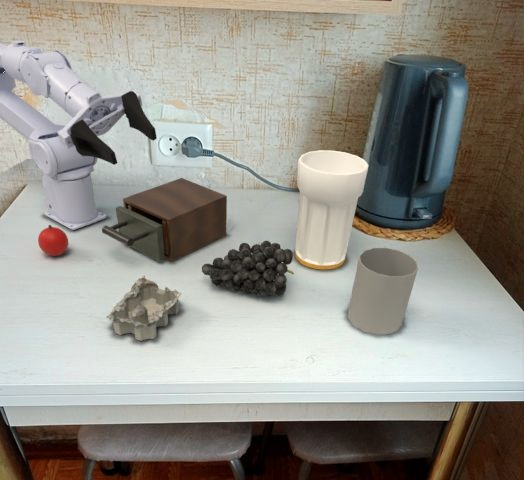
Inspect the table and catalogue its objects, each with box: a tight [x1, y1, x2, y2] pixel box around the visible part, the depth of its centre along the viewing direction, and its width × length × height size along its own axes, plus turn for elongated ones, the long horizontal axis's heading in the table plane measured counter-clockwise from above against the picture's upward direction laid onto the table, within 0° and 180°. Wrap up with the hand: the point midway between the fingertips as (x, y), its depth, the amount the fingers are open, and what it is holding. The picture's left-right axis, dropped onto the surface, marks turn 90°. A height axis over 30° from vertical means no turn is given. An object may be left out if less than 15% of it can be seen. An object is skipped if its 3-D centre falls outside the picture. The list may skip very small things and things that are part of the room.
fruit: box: [201, 240, 295, 298], centre depth 81 cm, size 9×8×15 cm
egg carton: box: [105, 275, 182, 342], centre depth 74 cm, size 11×8×4 cm
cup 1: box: [294, 149, 370, 271], centre depth 87 cm, size 11×11×17 cm
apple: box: [37, 224, 69, 257], centre depth 87 cm, size 5×5×6 cm
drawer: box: [101, 205, 169, 262], centre depth 90 cm, size 18×10×6 cm, turn 141°
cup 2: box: [347, 247, 419, 336], centre depth 76 cm, size 8×8×10 cm
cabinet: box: [122, 177, 228, 263], centre depth 93 cm, size 14×12×8 cm
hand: (134, 146), depth 78 cm, fingers open, 7 cm apart
